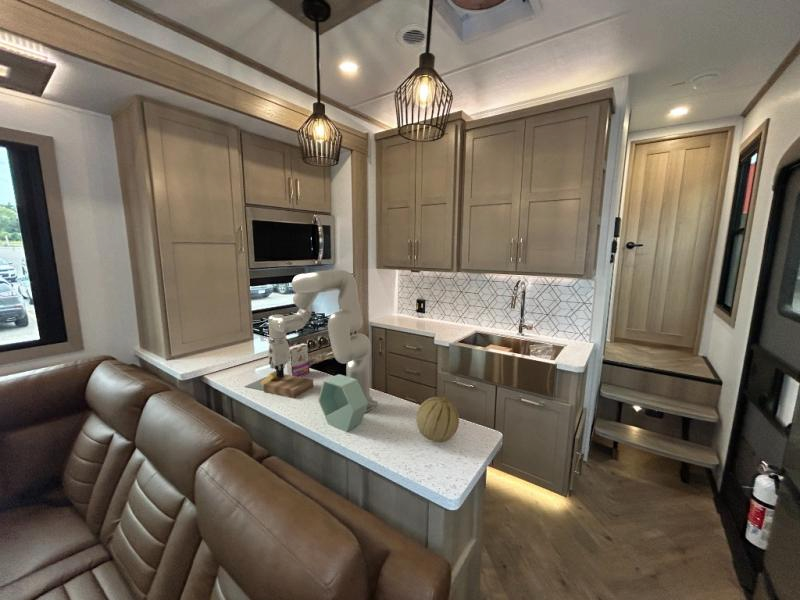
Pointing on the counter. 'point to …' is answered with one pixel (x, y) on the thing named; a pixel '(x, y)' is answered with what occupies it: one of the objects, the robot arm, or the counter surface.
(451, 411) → the cantaloupe
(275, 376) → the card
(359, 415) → the planter
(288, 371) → the candy bar box
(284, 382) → the block
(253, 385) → the mat
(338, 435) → the counter surface
